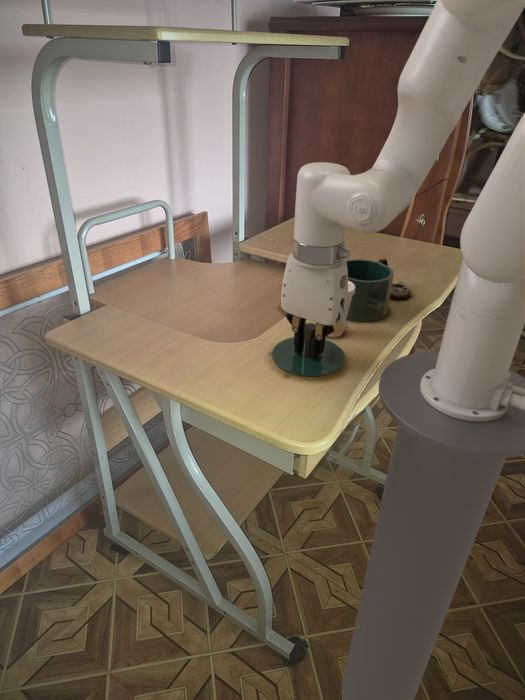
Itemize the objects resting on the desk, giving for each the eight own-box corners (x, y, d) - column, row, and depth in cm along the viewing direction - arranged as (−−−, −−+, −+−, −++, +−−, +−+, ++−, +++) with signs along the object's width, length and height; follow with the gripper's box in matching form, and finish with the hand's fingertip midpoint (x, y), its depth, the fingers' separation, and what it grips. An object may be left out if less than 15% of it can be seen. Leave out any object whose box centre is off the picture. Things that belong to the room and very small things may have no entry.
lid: (355, 355, 87) (360, 322, 84) (323, 389, 79) (327, 354, 75) (294, 334, 93) (296, 302, 90) (258, 364, 84) (258, 330, 81)
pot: (395, 305, 104) (401, 267, 100) (373, 327, 96) (380, 287, 91) (345, 291, 109) (349, 255, 105) (321, 311, 101) (324, 272, 97)
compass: (405, 303, 105) (411, 270, 101) (369, 293, 109) (374, 262, 105) (416, 289, 111) (422, 258, 107) (382, 281, 114) (387, 251, 111)
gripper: (376, 254, 74) (360, 358, 84) (284, 232, 82) (279, 330, 91) (356, 271, 69) (341, 379, 79) (259, 245, 76) (256, 347, 86)
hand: (308, 352), depth 85 cm, fingers closed on lid, 2 cm apart
